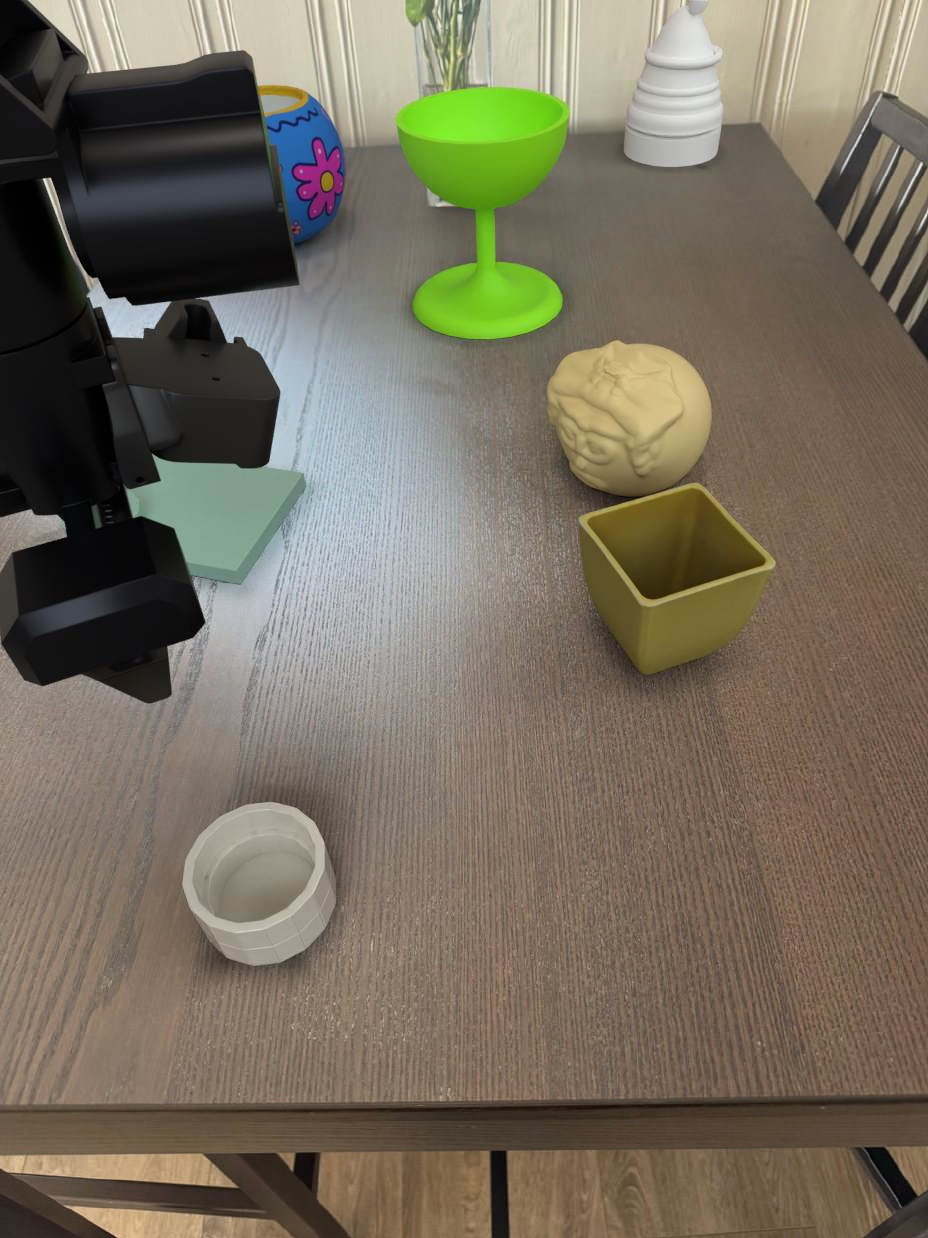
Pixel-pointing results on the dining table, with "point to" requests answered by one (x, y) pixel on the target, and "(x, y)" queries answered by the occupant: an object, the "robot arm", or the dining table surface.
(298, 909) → the bowl
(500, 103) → the wineglass
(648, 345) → the sculpture
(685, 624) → the flower pot
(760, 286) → the dining table surface
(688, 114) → the honey pot
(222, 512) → the scale
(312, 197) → the ceramic pot
